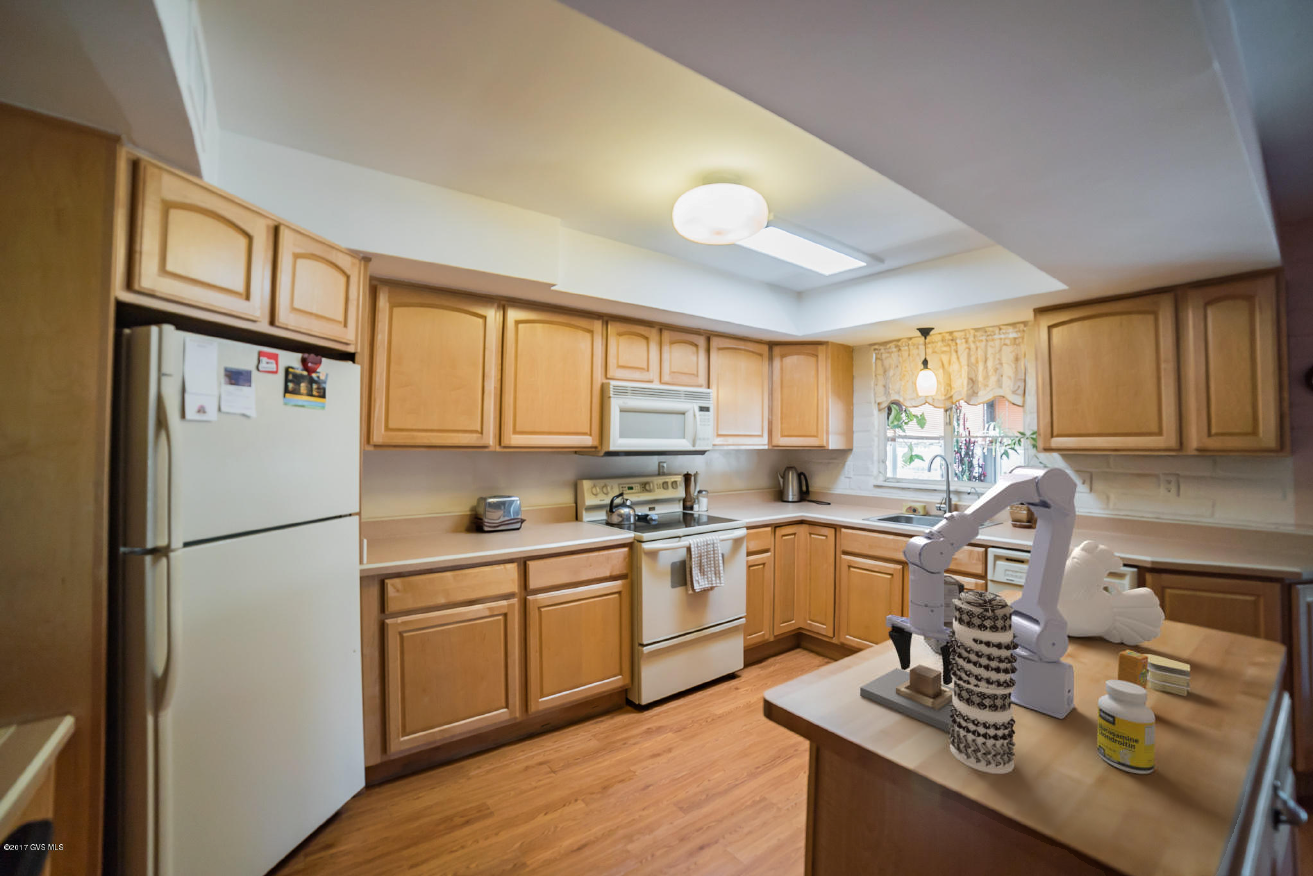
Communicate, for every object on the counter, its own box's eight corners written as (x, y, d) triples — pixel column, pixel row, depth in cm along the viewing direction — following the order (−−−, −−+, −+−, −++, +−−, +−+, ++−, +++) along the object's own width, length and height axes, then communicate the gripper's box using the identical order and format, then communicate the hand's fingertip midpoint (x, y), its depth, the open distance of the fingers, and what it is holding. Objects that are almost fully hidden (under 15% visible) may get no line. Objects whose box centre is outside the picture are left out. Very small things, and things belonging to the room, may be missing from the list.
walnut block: (941, 704, 96) (941, 671, 97) (931, 711, 94) (931, 677, 94) (919, 695, 100) (919, 664, 100) (909, 702, 97) (909, 670, 97)
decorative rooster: (1004, 599, 139) (1065, 538, 125) (1032, 581, 147) (1093, 521, 132) (1100, 683, 124) (1183, 624, 109) (1126, 657, 132) (1207, 599, 117)
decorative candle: (1028, 762, 79) (1030, 597, 79) (999, 783, 74) (1000, 607, 74) (966, 733, 87) (967, 583, 87) (935, 751, 82) (937, 591, 82)
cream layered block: (1200, 690, 104) (1200, 663, 104) (1201, 706, 97) (1202, 677, 97) (1132, 674, 111) (1132, 648, 111) (1129, 688, 104) (1130, 660, 104)
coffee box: (965, 655, 119) (965, 584, 119) (934, 653, 120) (934, 583, 120) (950, 640, 128) (951, 574, 128) (922, 638, 129) (923, 573, 129)
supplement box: (1139, 714, 94) (1140, 658, 94) (1116, 705, 97) (1116, 651, 97) (1148, 710, 95) (1148, 655, 95) (1124, 701, 98) (1124, 648, 98)
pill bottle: (1086, 750, 82) (1086, 677, 82) (1123, 749, 83) (1124, 676, 83) (1126, 777, 76) (1127, 697, 76) (1167, 775, 76) (1167, 696, 76)
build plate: (994, 711, 94) (994, 697, 94) (961, 738, 85) (961, 722, 85) (896, 675, 108) (896, 663, 108) (860, 695, 100) (860, 682, 100)
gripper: (877, 596, 100) (877, 667, 100) (959, 617, 89) (958, 697, 89) (896, 590, 104) (895, 658, 104) (975, 609, 93) (975, 685, 93)
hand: (925, 675), depth 97 cm, fingers open, 7 cm apart
